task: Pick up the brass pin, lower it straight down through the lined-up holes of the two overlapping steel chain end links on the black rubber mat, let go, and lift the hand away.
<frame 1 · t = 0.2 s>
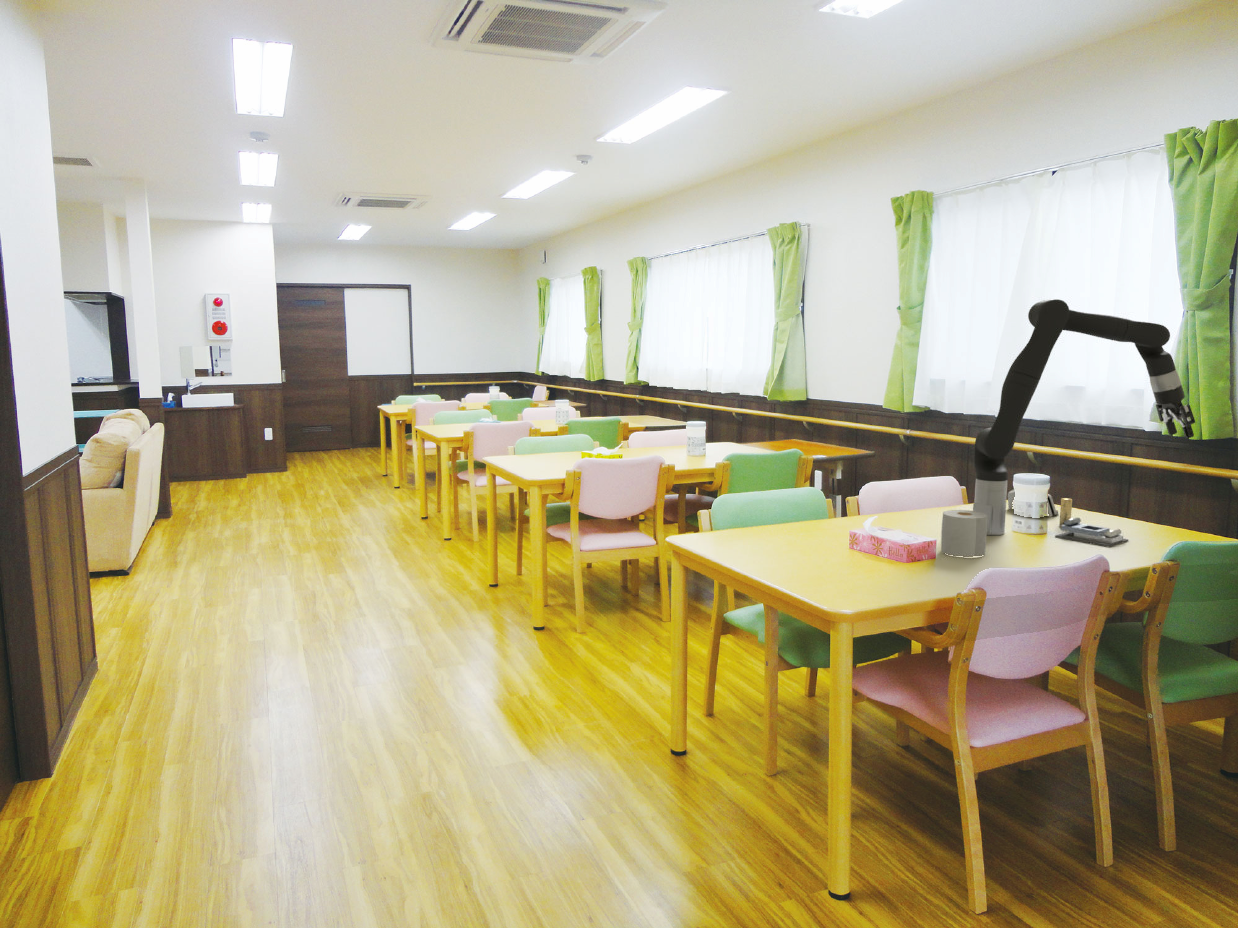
hand: (1181, 435, 253), 31 cm above the table, tool tilted 20°, fingers open, 8 cm apart
rubber mat: (1091, 539, 251), on the table
brass pin: (1064, 525, 270), on the table
toilet paper roll: (962, 553, 237), on the table
hinge: (1030, 513, 291), on the table
chain ends: (1091, 529, 251), on the rubber mat
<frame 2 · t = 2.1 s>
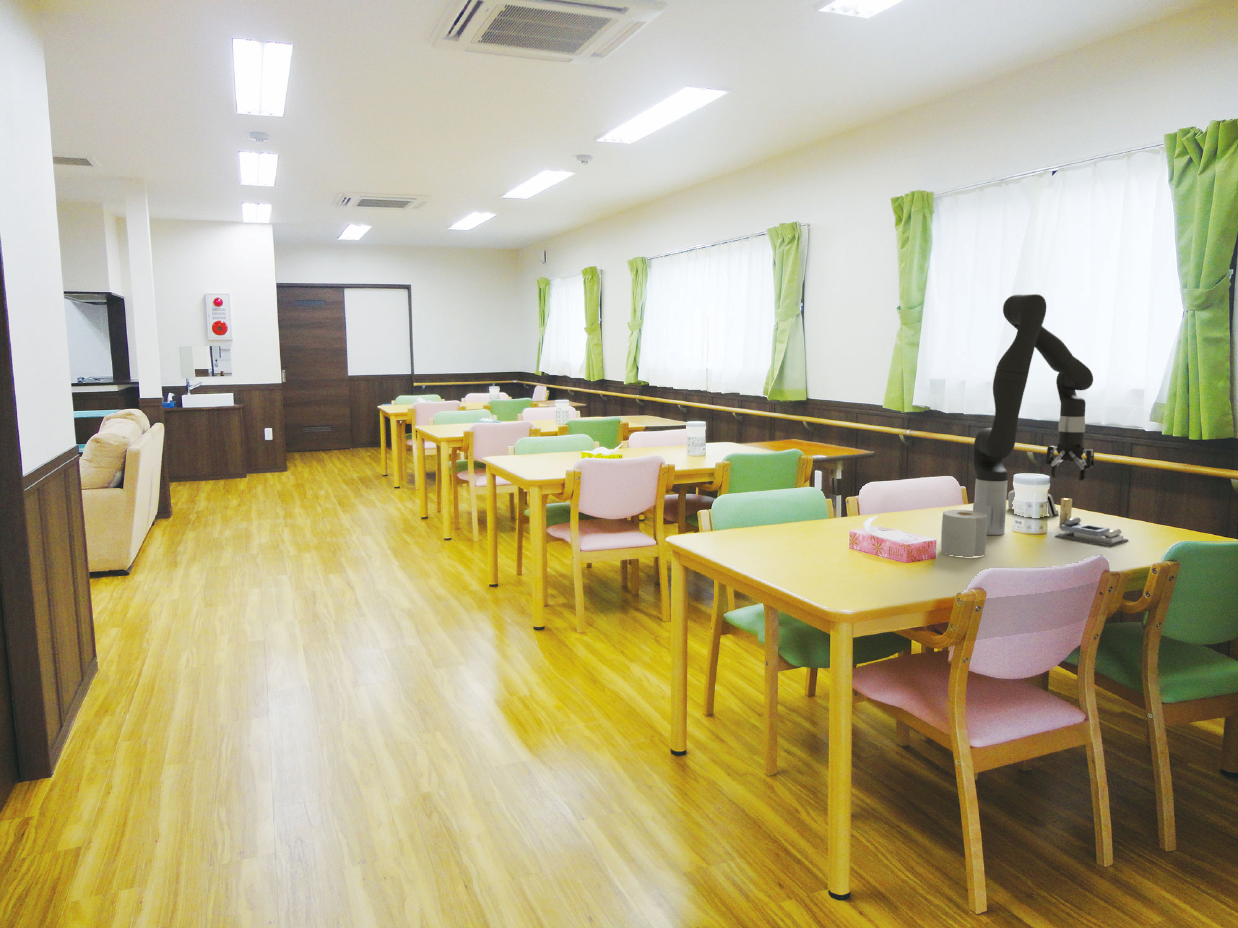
hand: (1068, 479, 267), 16 cm above the table, tool pointing down, fingers open, 8 cm apart
nothing on the table moved.
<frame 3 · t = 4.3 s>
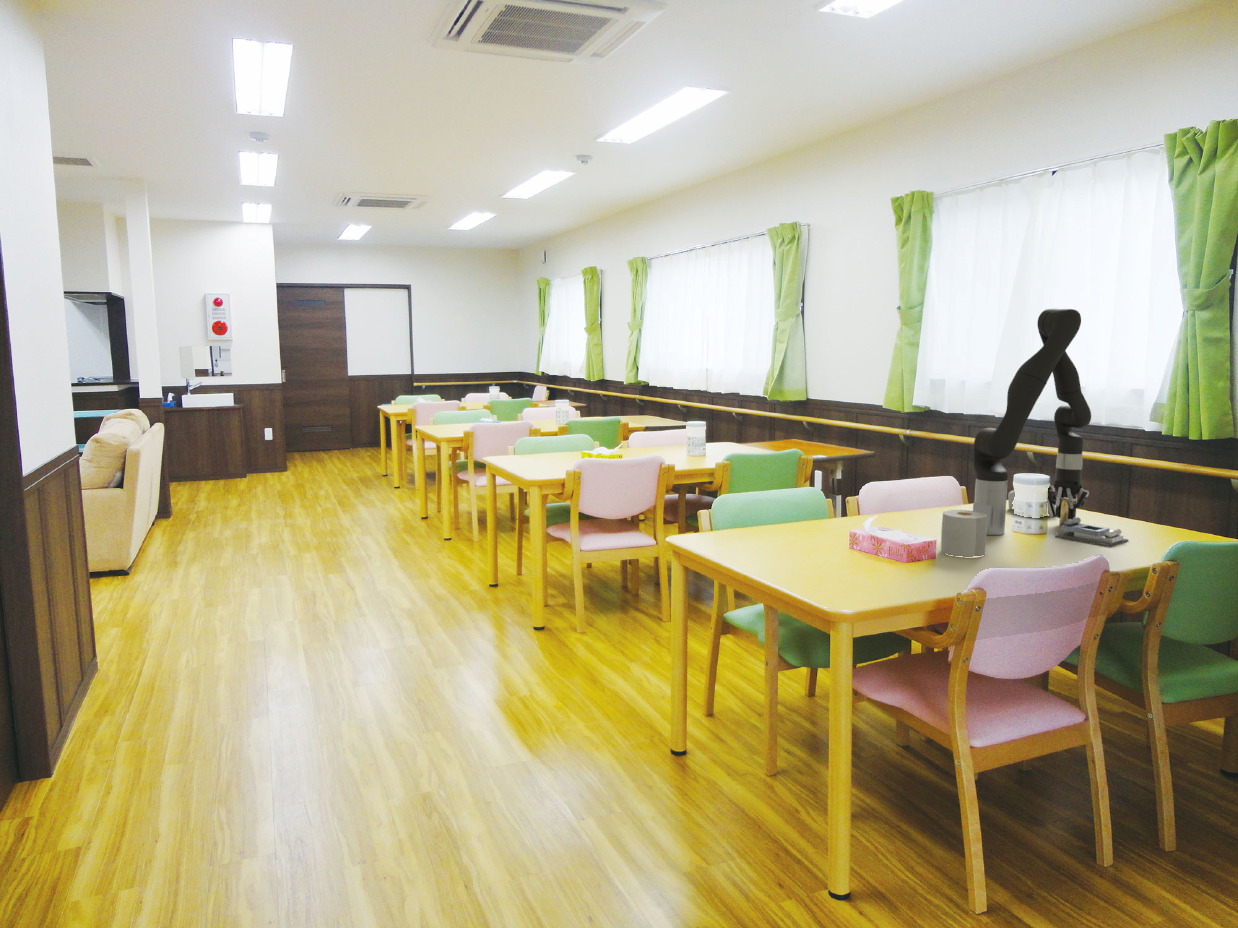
hand: (1065, 518, 269), 3 cm above the table, tool pointing down, fingers closed on brass pin, 3 cm apart
brass pin: (1064, 525, 270), on the table, touching gripper
everything else where it was.
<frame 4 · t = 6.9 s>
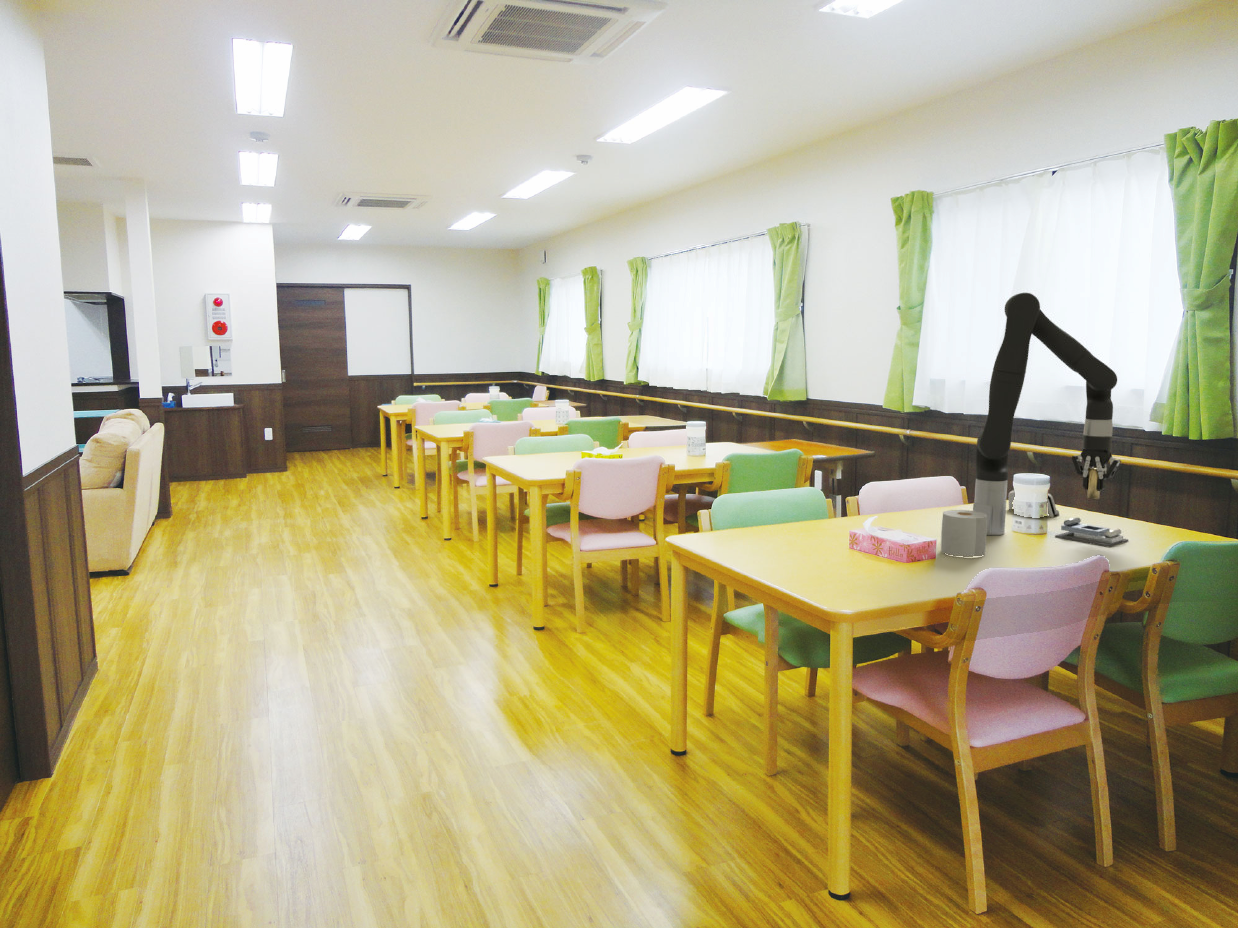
hand: (1093, 489, 250), 15 cm above the table, tool pointing down, fingers closed on brass pin, 3 cm apart
brass pin: (1093, 497, 251), point 13 cm above the table, touching gripper
everything else where it was.
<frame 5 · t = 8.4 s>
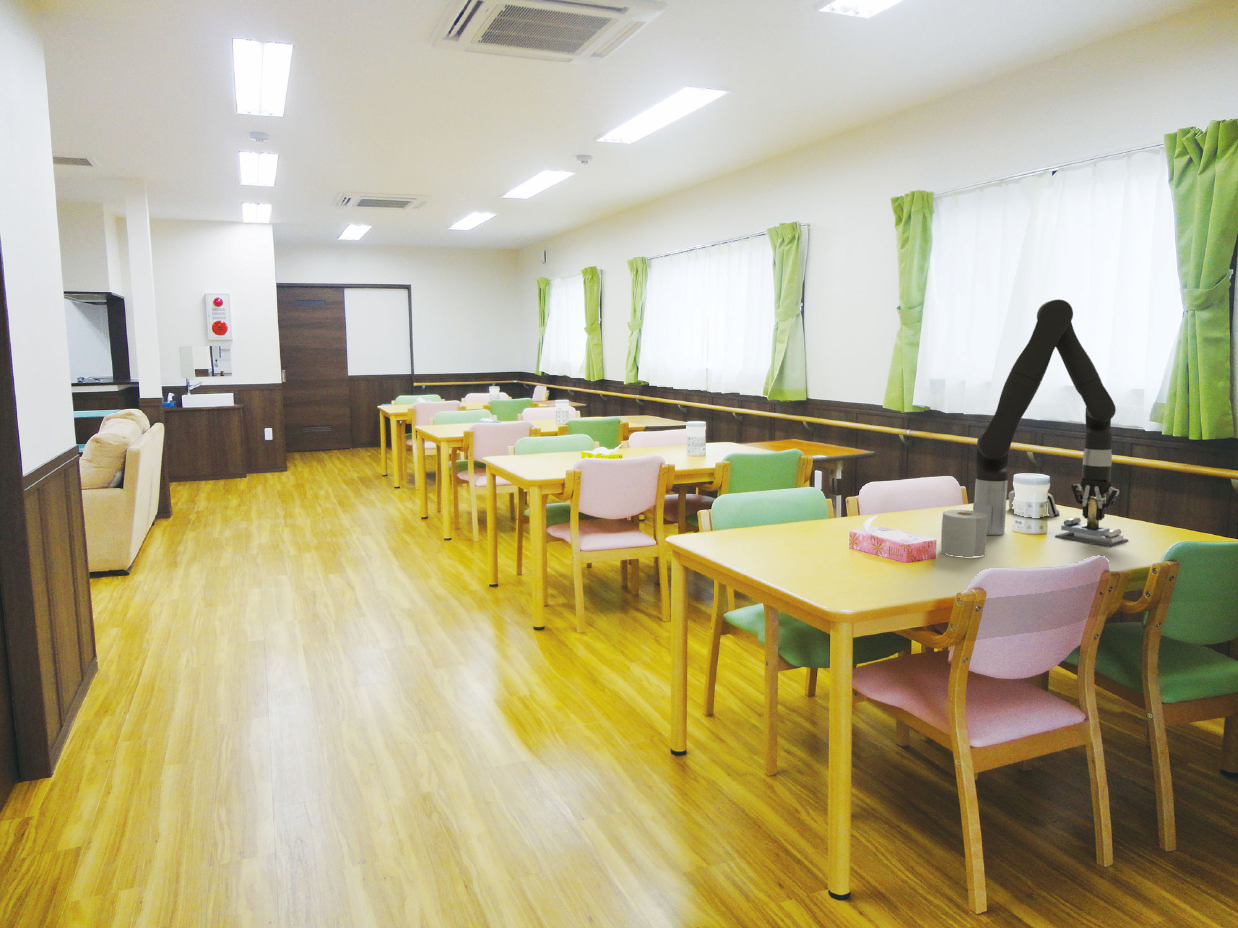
hand: (1093, 518, 250), 6 cm above the table, tool pointing down, fingers closed on brass pin, 3 cm apart
brass pin: (1092, 526, 251), point 4 cm above the table, touching gripper
everything else where it was.
when the fingers open (5 cm above the table, at t = 9.7 s): brass pin drops 2 cm, resting on rubber mat.
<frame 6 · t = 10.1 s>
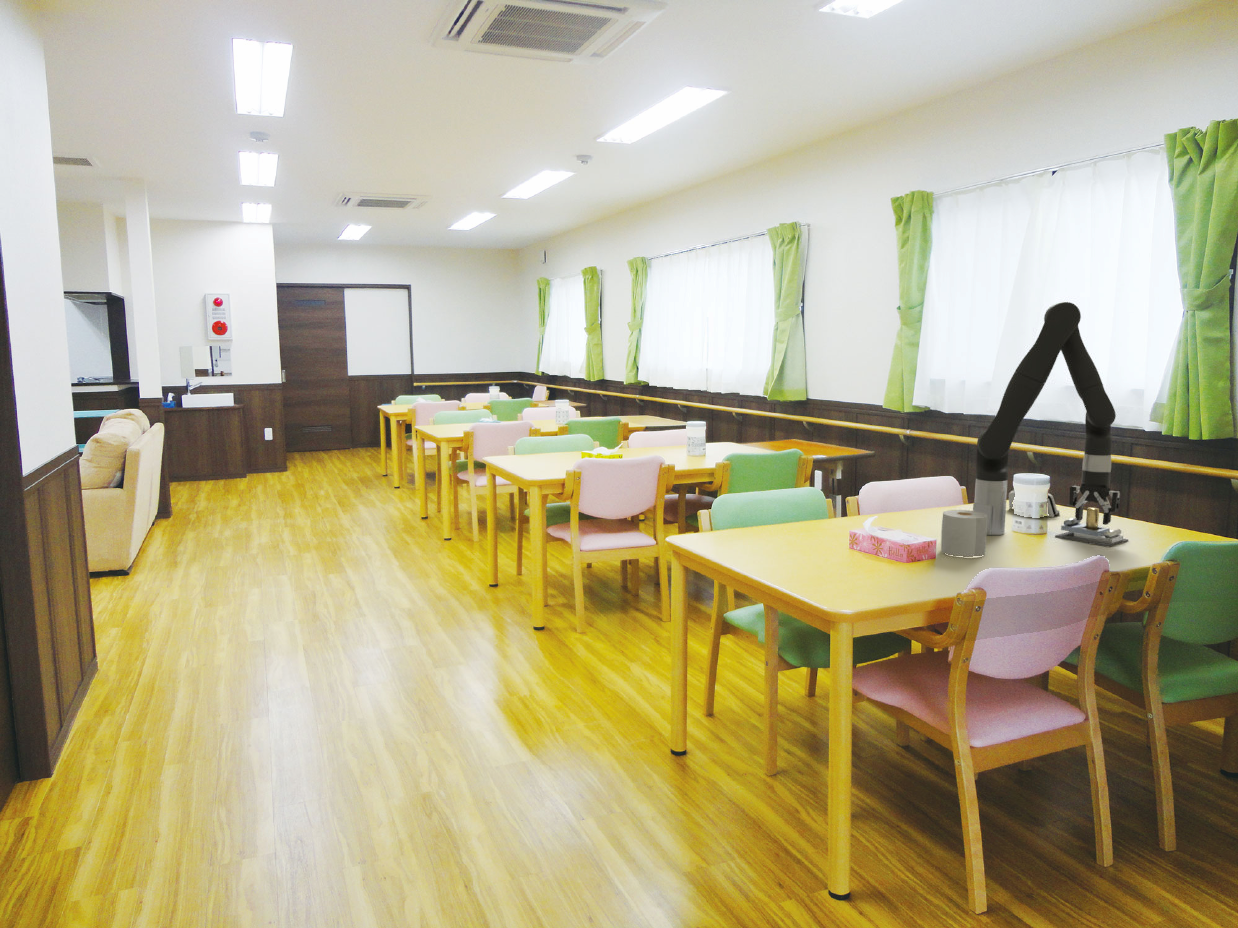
hand: (1092, 522, 251), 5 cm above the table, tool pointing down, fingers open, 7 cm apart
brass pin: (1091, 537, 251), point 1 cm above the table, touching rubber mat
everything else where it was.
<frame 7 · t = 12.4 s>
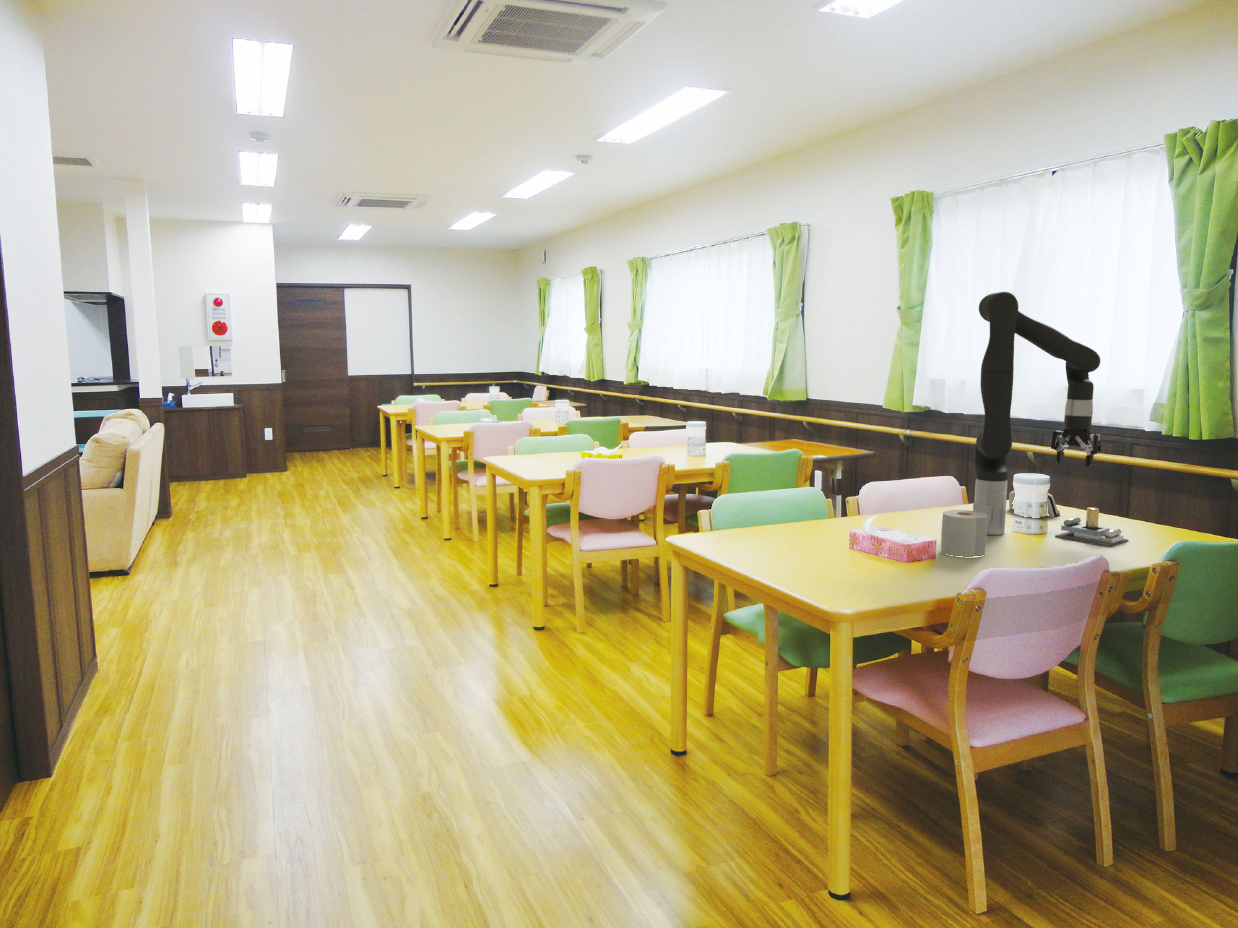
hand: (1074, 465, 258), 22 cm above the table, tool pointing down, fingers open, 8 cm apart
nothing on the table moved.
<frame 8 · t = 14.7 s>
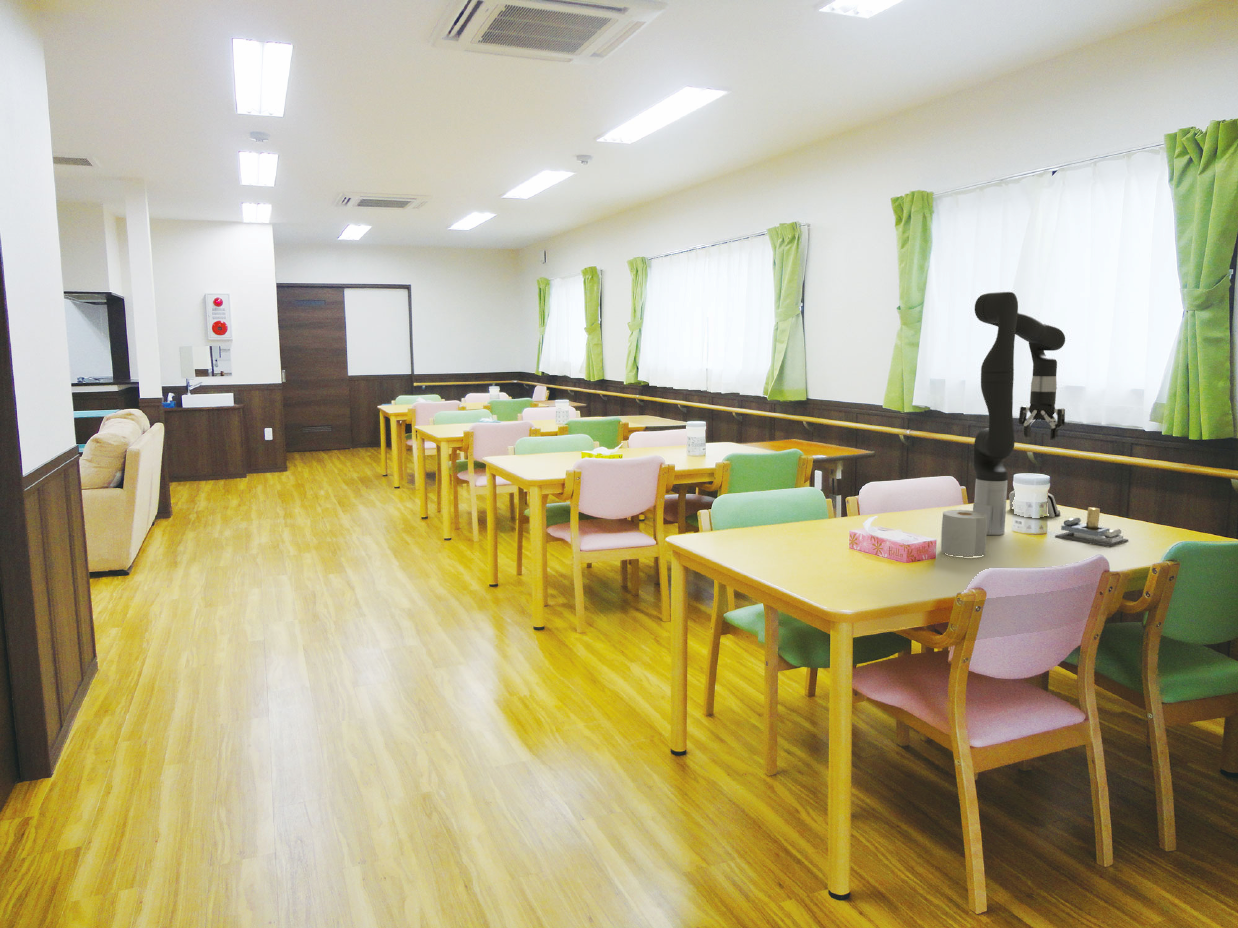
hand: (1040, 438, 274), 28 cm above the table, tool pointing down, fingers open, 8 cm apart
nothing on the table moved.
at the end: brass pin 0.1 cm off-centre on the chain ends, point 0.6 cm above the chain ends's base; brass pin tilted 2°; the gripper is holding nothing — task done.
